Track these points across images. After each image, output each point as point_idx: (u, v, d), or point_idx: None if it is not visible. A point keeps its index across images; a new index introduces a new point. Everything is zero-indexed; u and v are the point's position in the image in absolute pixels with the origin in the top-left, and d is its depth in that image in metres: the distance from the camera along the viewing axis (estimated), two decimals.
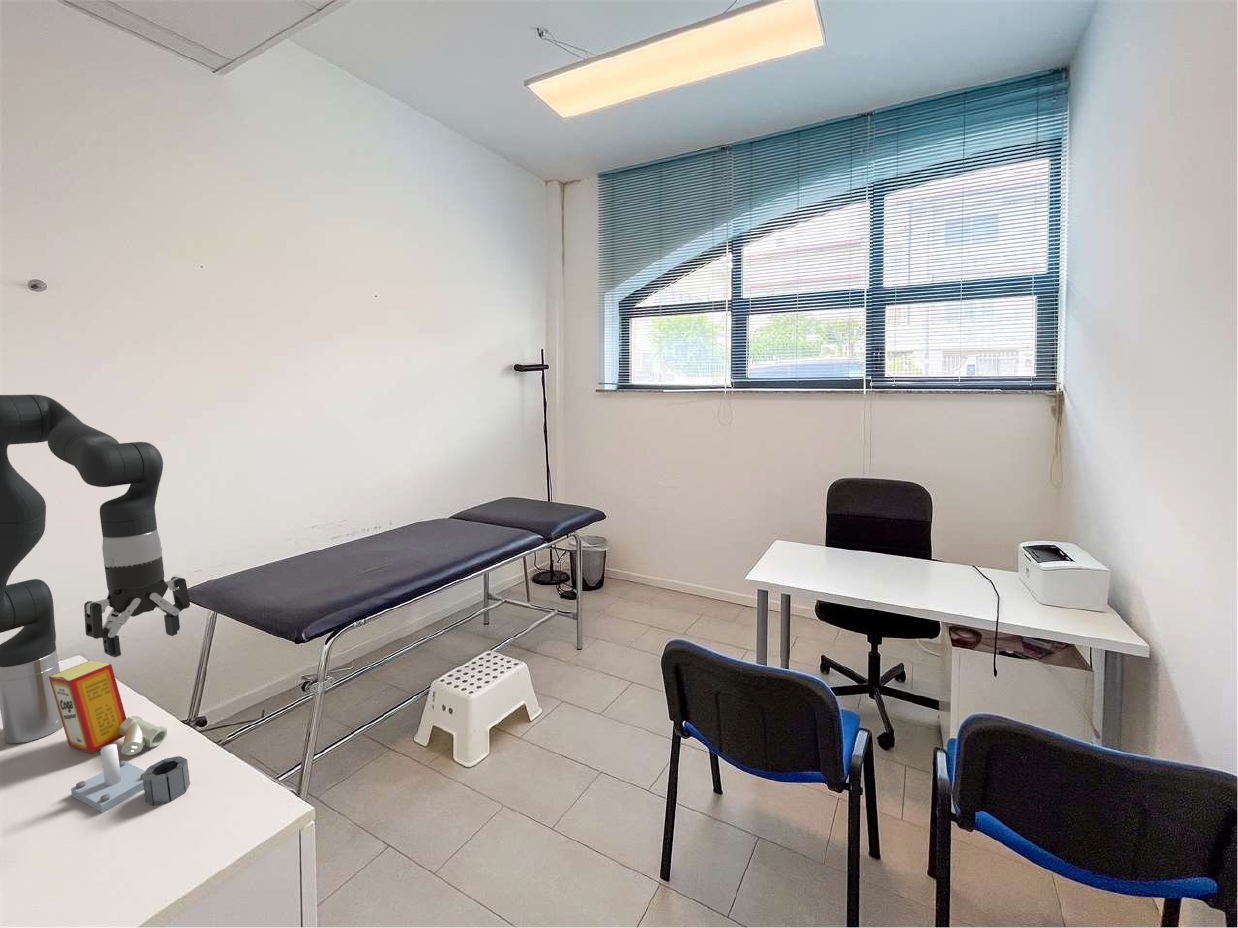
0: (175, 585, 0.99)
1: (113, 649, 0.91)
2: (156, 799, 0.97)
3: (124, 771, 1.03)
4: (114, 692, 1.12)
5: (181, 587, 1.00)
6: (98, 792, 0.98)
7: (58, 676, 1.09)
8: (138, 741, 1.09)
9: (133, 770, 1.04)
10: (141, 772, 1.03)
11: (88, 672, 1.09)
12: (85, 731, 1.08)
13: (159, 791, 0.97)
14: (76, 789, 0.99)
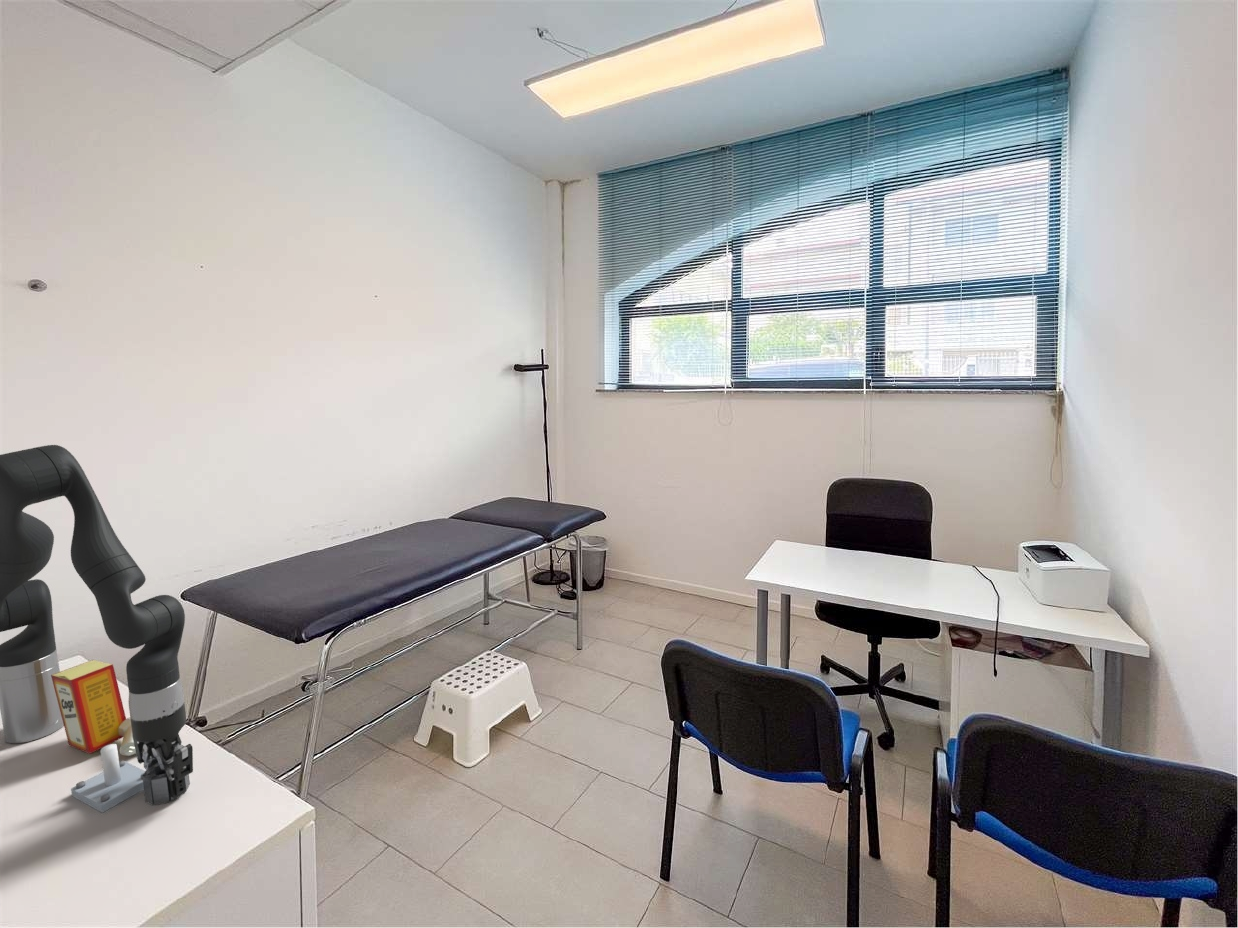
0: None
1: None
2: (156, 799, 0.97)
3: (124, 771, 1.03)
4: (114, 692, 1.12)
5: None
6: (98, 792, 0.98)
7: (60, 675, 1.10)
8: None
9: (133, 770, 1.04)
10: (141, 772, 1.03)
11: (90, 672, 1.10)
12: (84, 731, 1.08)
13: (159, 791, 0.97)
14: (76, 789, 0.99)
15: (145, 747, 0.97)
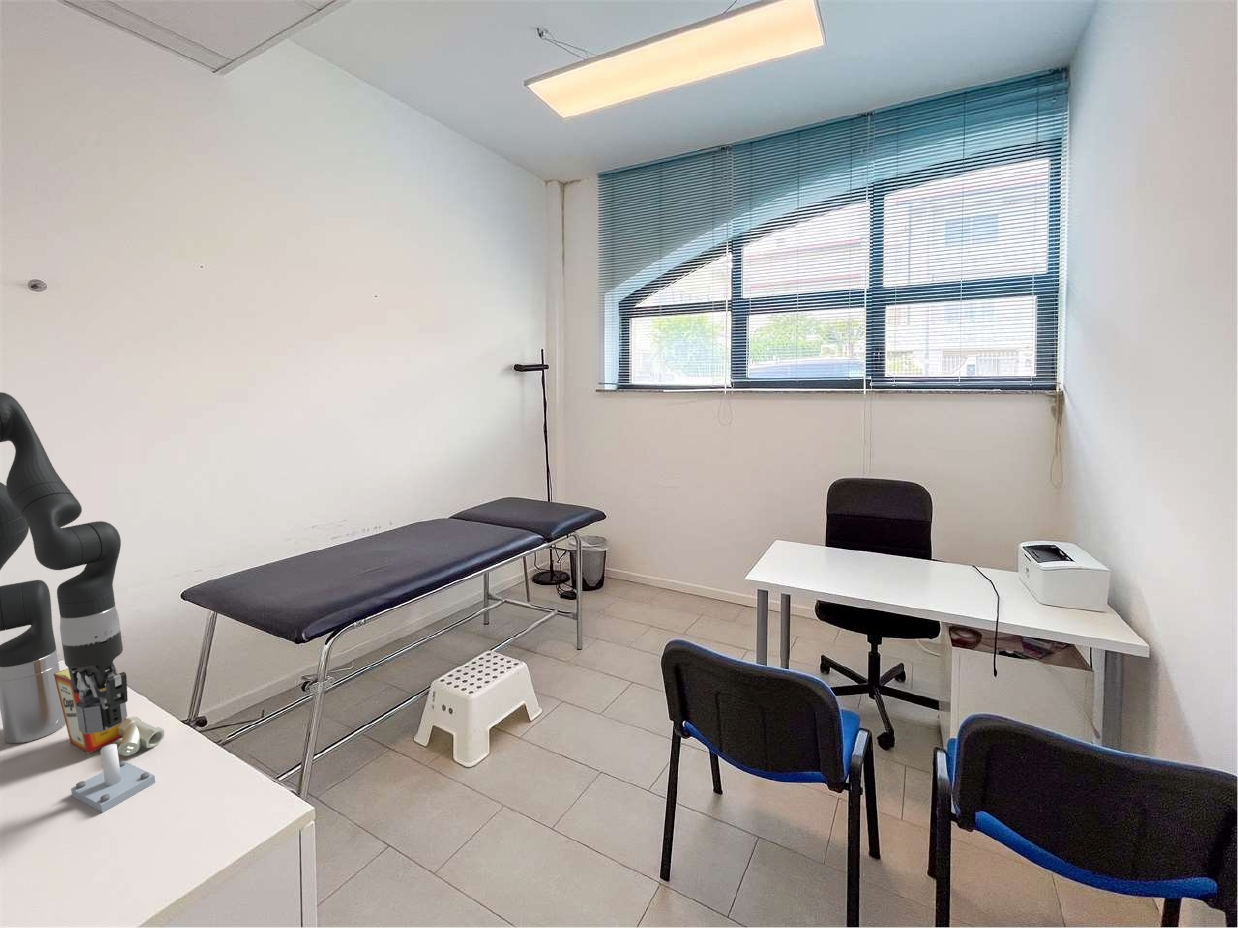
0: None
1: None
2: (89, 728, 0.96)
3: (124, 771, 1.03)
4: None
5: None
6: (98, 792, 0.98)
7: (62, 674, 1.10)
8: (134, 741, 1.09)
9: (133, 770, 1.04)
10: (141, 772, 1.03)
11: None
12: None
13: (92, 720, 0.96)
14: (76, 789, 0.99)
15: (79, 675, 0.96)
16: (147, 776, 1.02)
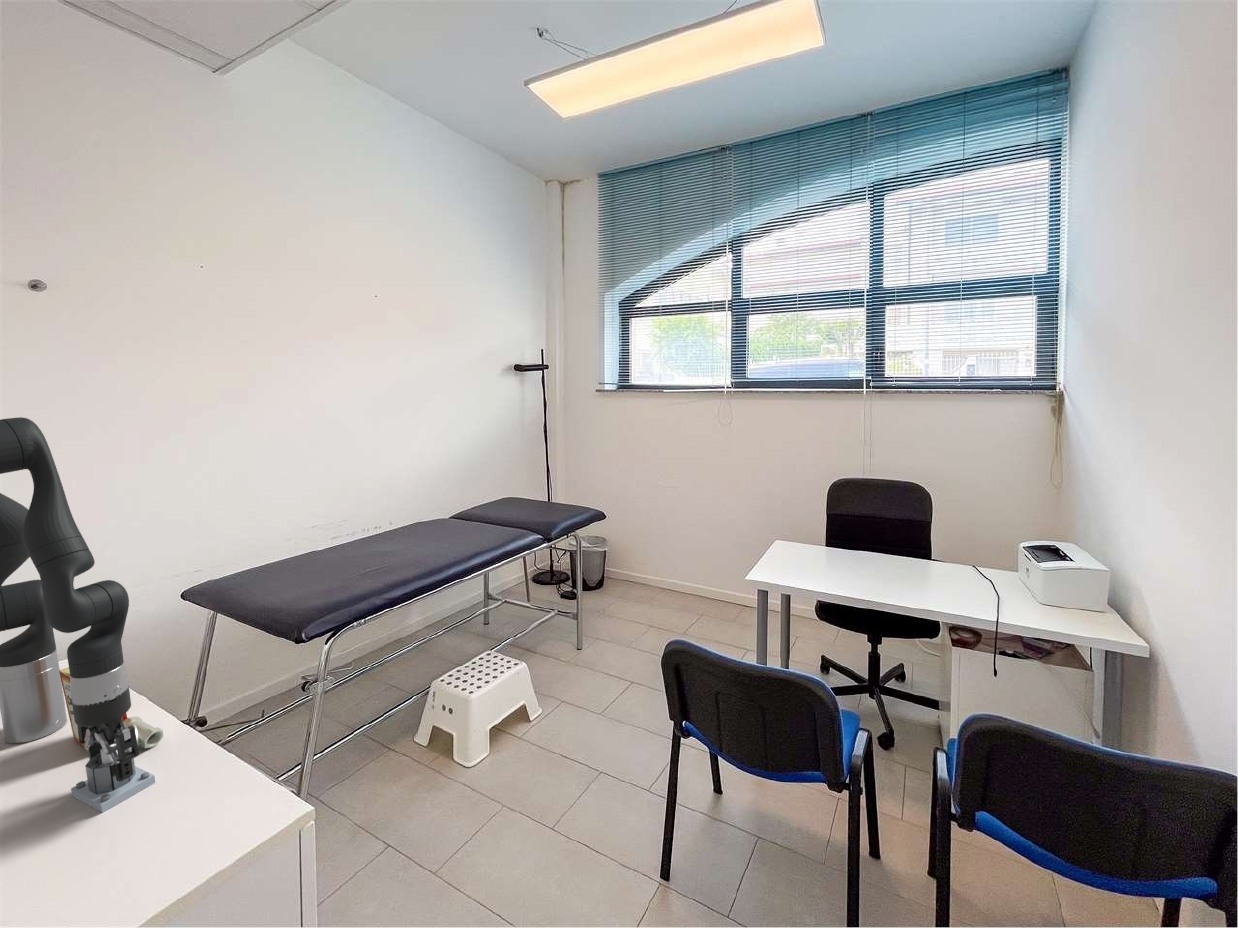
0: None
1: None
2: (99, 788, 0.97)
3: None
4: None
5: None
6: None
7: (66, 672, 1.11)
8: None
9: None
10: (141, 772, 1.03)
11: None
12: None
13: (102, 780, 0.97)
14: (76, 789, 0.99)
15: (88, 732, 0.98)
16: (147, 776, 1.02)
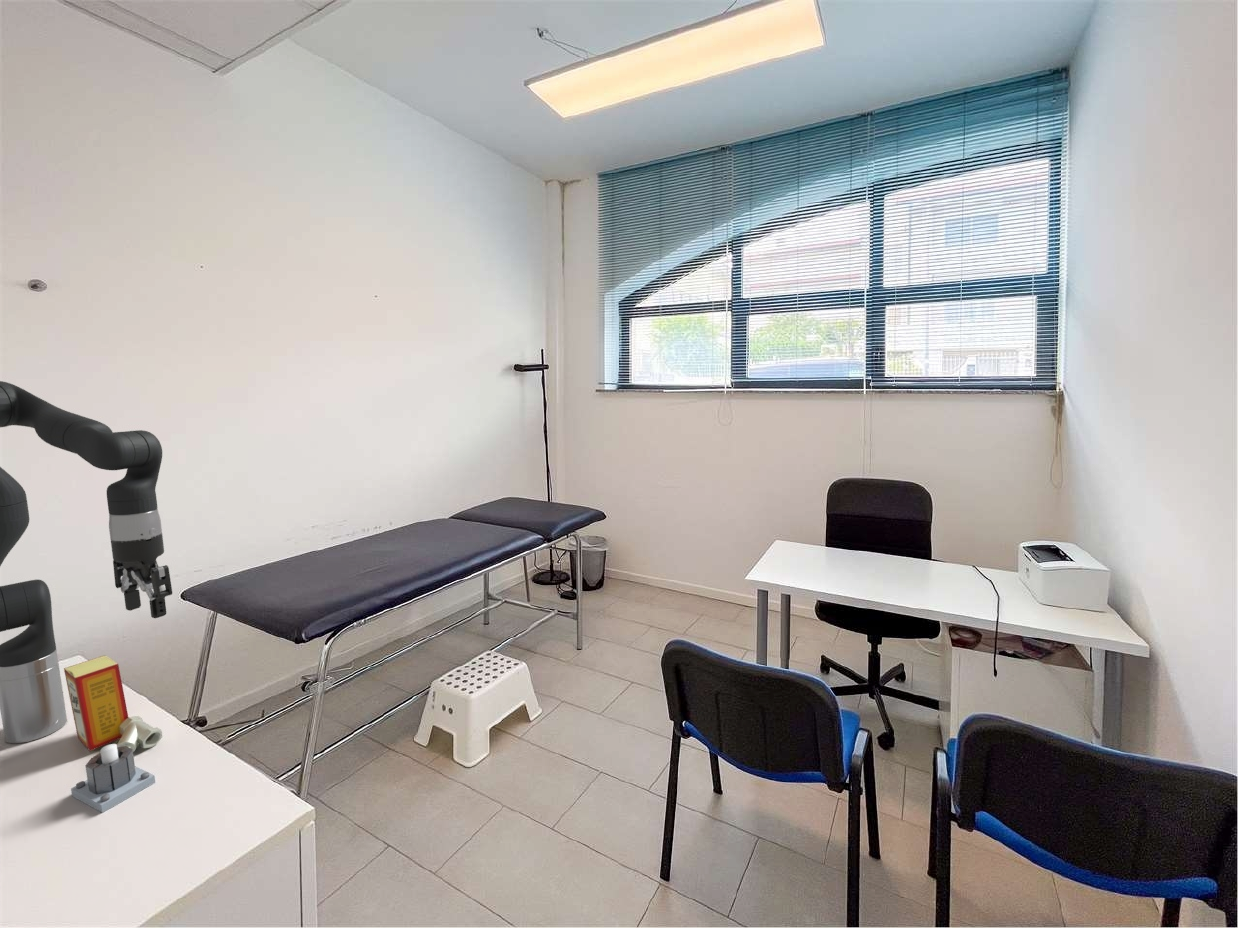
0: None
1: None
2: (99, 788, 0.97)
3: None
4: (118, 691, 1.13)
5: None
6: None
7: (70, 670, 1.12)
8: (131, 741, 1.09)
9: None
10: (141, 772, 1.03)
11: (95, 670, 1.11)
12: (86, 728, 1.09)
13: (102, 780, 0.97)
14: (76, 789, 0.99)
15: (125, 571, 1.04)
16: (147, 776, 1.02)
